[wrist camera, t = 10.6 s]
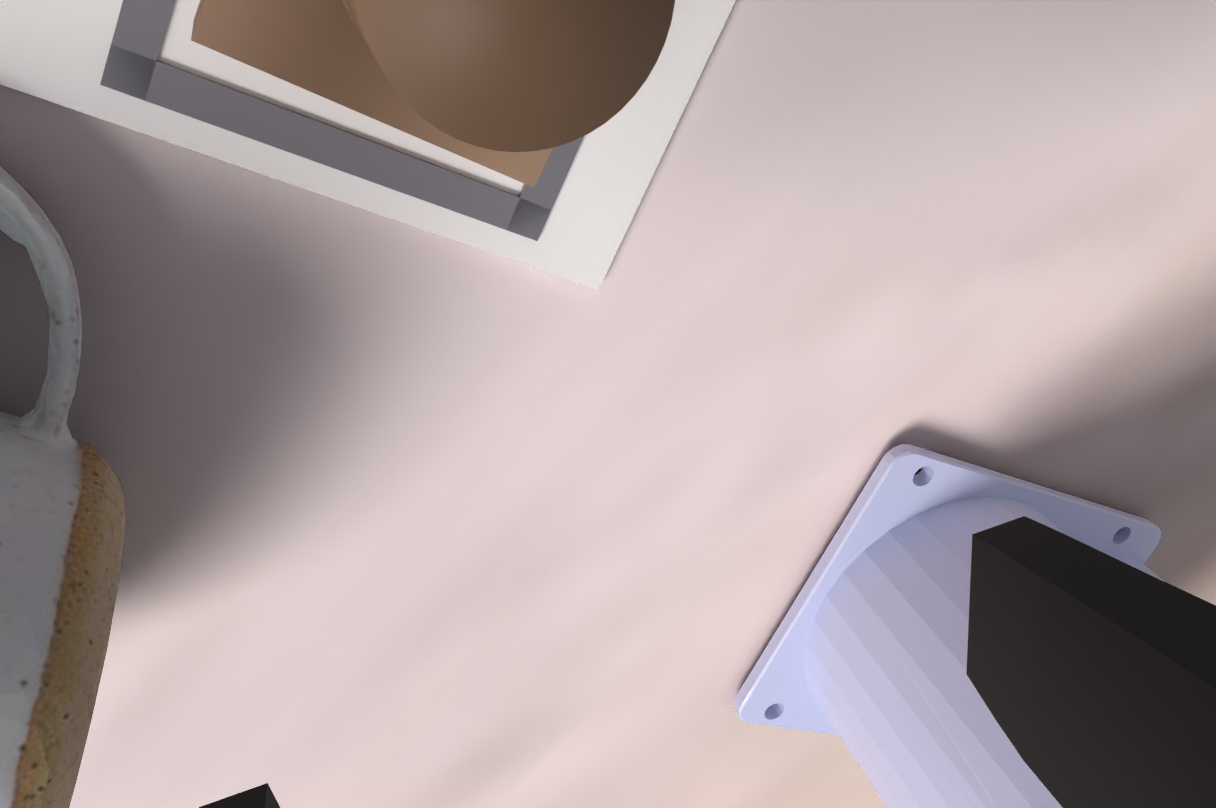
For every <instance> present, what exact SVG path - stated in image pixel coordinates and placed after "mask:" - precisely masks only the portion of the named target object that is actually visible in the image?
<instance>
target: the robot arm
mask: <svg viewBox="0 0 1216 808" xmlns="http://www.w3.org/2000/svg"><path fill="white" fill-rule="evenodd" d="M922 467H923V469H922V470H921V471H920V472H919V473H918V474H917V475H915V476H914V474H915V473H916V472H917V471H918V470H919V469H920V468H922ZM1160 539H1161V530H1160V528H1158V527H1157V526H1156V525H1155V524H1153V523H1152V522H1151V521H1149V520H1148V519H1145V518H1141V517H1138V516H1135V515H1132V514H1129V513H1126V512H1122V511H1119V510H1116V509H1113V508H1110V507H1107V506H1103V505H1100V504H1097V503H1094V502H1091V501H1088V500H1084V499H1081V498H1078V497H1075V496H1072V495H1069V494H1065V493H1062V492H1059V491H1056V490H1053V489H1050V488H1046V487H1043V486H1040V485H1037V484H1034V483H1031V482H1027V481H1024V480H1021V479H1018V478H1015V477H1012V476H1008V475H1005V474H1002V473H999V472H996V471H993V470H989V469H986V468H983V467H980V466H977V465H974V464H970V463H967V462H964V461H961V460H958V459H955V458H951V457H948V456H945V455H942V454H939V453H936V452H932V451H929V450H926V449H923V448H920V447H917V446H913V445H910V444H901V445H898V446H895V447H893V448H892V449H891V450H889V451H888V452H887V453H886V454H885V455H884V457H883V458H882V459H881V461H880V463H879V464H878V466H877V467H876V469H875V471H874V472H873V474H872V476H871V477H870V479H869V480H868V482H867V484H866V485H865V487H864V489H863V490H862V492H861V493H860V495H859V497H858V498H857V500H856V502H855V503H854V505H853V507H852V508H851V510H850V511H849V513H848V515H847V516H846V518H845V520H844V521H843V523H842V524H841V526H840V528H839V529H838V531H837V533H836V534H835V536H834V537H833V539H832V541H831V542H830V544H829V546H828V547H827V549H826V551H825V552H824V554H823V555H822V557H821V559H820V560H819V562H818V564H817V565H816V567H815V568H814V570H813V572H812V573H811V575H810V577H809V578H808V580H807V581H806V583H805V585H804V586H803V588H802V590H801V591H800V593H799V595H798V596H797V598H796V599H795V601H794V603H793V604H792V606H791V608H790V609H789V611H788V612H787V614H786V616H785V617H784V619H783V621H782V622H781V624H780V625H779V627H778V629H777V630H776V632H775V634H774V635H773V637H772V639H771V640H770V642H769V643H768V645H767V647H766V648H765V650H764V652H763V653H762V655H761V656H760V658H759V660H758V661H757V663H756V665H755V666H754V668H753V669H752V671H751V673H750V674H749V676H748V678H747V679H746V681H745V683H744V684H743V686H742V687H741V689H740V691H739V692H738V694H737V696H736V698H735V700H734V709H735V711H736V712H737V714H738V716H739V718H740V719H741V720H742V721H744V722H747V723H752V724H759V725H767V726H774V727H782V728H789V729H797V730H804V731H812V732H819V733H826V734H834V735H839V737H840V738H841V740H842V741H843V743H844V744H845V746H846V747H847V749H848V750H849V752H850V753H851V755H852V757H853V758H854V760H855V761H856V763H857V764H858V766H859V767H860V769H861V770H862V772H863V773H864V775H865V776H866V778H867V779H868V781H869V782H870V784H871V785H872V787H873V788H874V790H875V791H876V793H877V794H878V796H879V797H880V799H881V801H882V802H883V804H884V805H885V807H886V808H1216V606H1215V605H1213V604H1211V603H1209V602H1207V601H1204V600H1202V599H1200V598H1198V597H1196V596H1194V595H1192V594H1189V593H1187V592H1185V591H1183V590H1181V589H1179V588H1177V587H1174V586H1172V585H1170V584H1168V583H1166V582H1165V581H1164V580H1163V579H1162V578H1160V577H1159V576H1158V575H1157V574H1156V573H1154V572H1153V571H1152V570H1151V569H1149V568H1148V567H1147V566H1146V565H1145V564H1144V563H1145V562H1146V560H1147V559H1148V558H1149V556H1150V555H1151V554H1152V552H1153V551H1154V550H1155V548H1156V547H1157V545H1158V544H1159V542H1160ZM199 808H280V807H279V805H278V803H277V801H276V799H275V797H274V795H273V793H272V791H271V789H270V787H269V785H268V783H267V784H264V785H261V786H258V787H255V788H253V789H250V790H247V791H244V792H241V793H238V794H236V795H233V796H230V797H227V798H224V799H221V800H219V801H216V802H213V803H210V804H207V805H204V806H202V807H199Z"/></svg>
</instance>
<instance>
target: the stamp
mask: <svg viewBox="0 0 1216 808" xmlns="http://www.w3.org/2000/svg"><path fill="white" fill-rule="evenodd" d="M674 4H675V0H200V2H199V5H198V8H197V11H196V14H195V17H194V21H193V29H192V36H191V41H194V42H196V43H198V44H201V45H203V46H205V47H208V48H210V49H212V50H215V51H217V52H219V53H222V54H224V55H226V56H228V57H231V58H233V59H235V60H238V61H240V62H242V63H245V64H247V65H249V66H252V67H254V68H256V69H259V70H261V71H263V72H266V73H268V74H270V75H273V76H275V77H277V78H280V79H282V80H284V81H287V82H289V83H291V84H294V85H296V86H298V87H301V88H303V89H305V90H308V91H310V92H312V93H315V94H317V95H319V96H322V97H324V98H326V99H329V100H331V101H333V102H336V103H338V104H340V105H343V106H345V107H347V108H350V109H352V110H354V111H357V112H359V113H361V114H364V115H366V116H368V117H370V118H373V119H375V120H377V121H380V122H382V123H384V124H387V125H389V126H391V127H394V128H396V129H398V130H401V131H403V132H405V133H408V134H410V135H412V136H415V137H417V138H419V139H422V140H424V141H426V142H429V143H431V144H433V145H436V146H438V147H440V148H443V149H445V150H447V151H450V152H452V153H454V154H457V155H459V156H461V157H464V158H466V159H468V160H471V161H473V162H475V163H478V164H480V165H482V166H485V167H487V168H489V169H492V170H494V171H496V172H499V173H501V174H503V175H506V176H508V177H510V178H513V179H515V180H517V181H519V182H522V183H524V184H526V185H529V186H531V187H533V188H534V187H535V185H536V183H537V181H538V179H539V176H540V174H541V172H542V170H543V168H544V166H545V164H546V162H547V160H548V158H549V156H550V153H551V151H552V149H553V148H554V147H557V146H560V145H563V144H566V143H569V142H572V141H574V140H576V139H578V138H581V137H583V136H585V135H587V134H589V133H591V132H592V131H594V130H595V129H597V128H598V127H600V126H602V125H603V124H605V123H606V122H607V121H609V120H610V119H611V118H612V117H613V116H615V115H616V114H617V113H618V112H619V111H621V110H622V109H623V107H624V106H625V105H626V104H627V103H628V102H629V101H630V100H631V99H632V98H633V97H634V96H635V95H636V93H637V92H638V90H639V89H640V88H641V86H642V85H643V84H644V82H645V81H646V80H647V78H648V76H649V75H650V73H651V71H652V69H653V68H654V66H655V64H656V62H657V60H658V58H659V56H660V53H661V51H662V49H663V46H664V44H665V42H666V38H667V35H668V32H669V28H670V25H671V21H672V16H673V10H674Z"/></svg>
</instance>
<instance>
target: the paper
mask: <svg viewBox="0 0 1216 808" xmlns="http://www.w3.org/2000/svg"><path fill="white" fill-rule="evenodd" d="M735 1H736V0H675V4H674V10H673V16H672V21H671V25H670V28H669V32H668V35H667V38H666V42H665V44H664V46H663V49H662V51H661V53H660V56H659V58H658V60H657V62H656V64H655V66H654V68H653V69H652V71H651V73H650V75H649V76H648V78H647V80H646V81H645V82H644V84H643V85H642V86H641V88H640V89H639V90H638V92H637V93H636V95H635V96H634V97H633V98H632V99H631V100H630V101H629V102H628V103H627V104H626V105H625V106H624V107H623V109H622V110H621V111H619V112H618V113H617V114H616V115H615V116H613V117H612V118H611V119H610V120H609V121H607V122H606V123H605V124H603V125H602V126H600V127H598V128H597V129H595V130H594V131H592V132H591V133H589V134H587V135H585V136H583V137H581V138H578V139H576V140H574V141H572V142H569V143H566V144H563V145H560V146H557V147H554V148H553V149H552V151H551V153H550V156H549V158H548V160H547V162H546V164H545V166H544V168H543V170H542V172H541V174H540V176H539V179H538V181H537V183H536V185H535V187H534V188H533V187H531V186H529V185H526V184H524V183H522V182H519V181H517V180H515V179H513V178H510V177H508V176H506V175H503V174H501V173H499V172H496V171H494V170H492V169H489V168H487V167H485V166H482V165H480V164H478V163H475V162H473V161H471V160H468V159H466V158H464V157H461V156H459V155H457V154H454V153H452V152H450V151H447V150H445V149H443V148H440V147H438V146H436V145H433V144H431V143H429V142H426V141H424V140H422V139H419V138H417V137H415V136H412V135H410V134H408V133H405V132H403V131H401V130H398V129H396V128H394V127H391V126H389V125H387V124H384V123H382V122H380V121H377V120H375V119H373V118H370V117H368V116H366V115H364V114H361V113H359V112H357V111H354V110H352V109H350V108H347V107H345V106H343V105H340V104H338V103H336V102H333V101H331V100H329V99H326V98H324V97H322V96H319V95H317V94H315V93H312V92H310V91H308V90H305V89H303V88H301V87H298V86H296V85H294V84H291V83H289V82H287V81H284V80H282V79H280V78H277V77H275V76H273V75H270V74H268V73H266V72H263V71H261V70H259V69H256V68H254V67H252V66H249V65H247V64H245V63H242V62H240V61H238V60H235V59H233V58H231V57H228V56H226V55H224V54H222V53H219V52H217V51H215V50H212V49H210V48H208V47H205V46H203V45H201V44H198V43H196V42H194V41H191V36H192V29H193V21H194V17H195V14H196V11H197V8H198V5H199V2H200V0H0V85H3V86H6V87H9V88H12V89H15V90H18V91H21V92H24V93H26V94H29V95H32V96H35V97H38V98H41V99H44V100H47V101H50V102H53V103H56V104H58V105H61V106H64V107H67V108H70V109H73V110H76V111H79V112H82V113H85V114H87V115H90V116H93V117H96V118H99V119H102V120H105V121H108V122H111V123H114V124H117V125H119V126H122V127H125V128H128V129H131V130H134V131H137V132H140V133H143V134H146V135H149V136H151V137H154V138H157V139H160V140H163V141H166V142H169V143H172V144H175V145H178V146H180V147H183V148H186V149H189V150H192V151H195V152H198V153H201V154H204V155H207V156H210V157H212V158H215V159H218V160H221V161H224V162H227V163H230V164H233V165H236V166H239V167H242V168H244V169H247V170H250V171H253V172H256V173H259V174H262V175H265V176H268V177H271V178H273V179H276V180H279V181H282V182H285V183H288V184H291V185H294V186H297V187H300V188H303V189H305V190H308V191H311V192H314V193H317V194H320V195H323V196H326V197H329V198H332V199H335V200H337V201H340V202H343V203H346V204H349V205H352V206H355V207H358V208H361V209H364V210H367V211H369V212H372V213H375V214H378V215H381V216H384V217H387V218H390V219H393V220H396V221H398V222H401V223H404V224H407V225H410V226H413V227H416V228H419V229H422V230H425V231H428V232H430V233H433V234H436V235H439V236H442V237H445V238H448V239H451V240H454V241H457V242H460V243H462V244H465V245H468V246H471V247H474V248H477V249H480V250H483V251H486V252H489V253H491V254H494V255H497V256H500V257H503V258H506V259H509V260H512V261H515V262H518V263H521V264H523V265H526V266H529V267H532V268H535V269H538V270H541V271H544V272H547V273H550V274H553V275H555V276H558V277H561V278H564V279H567V280H570V281H573V282H576V283H579V284H582V285H584V286H587V287H590V288H593V289H596V290H599V288H600V286H601V284H602V282H603V280H604V278H605V275H606V273H607V271H608V269H609V267H610V265H611V263H612V261H613V259H614V256H615V254H616V252H617V250H618V248H619V246H620V244H621V242H622V240H623V237H624V235H625V233H626V231H627V229H628V227H629V225H630V223H631V221H632V218H633V216H634V214H635V212H636V210H637V208H638V206H639V204H640V202H641V199H642V197H643V195H644V193H645V191H646V189H647V187H648V185H649V183H650V181H651V178H652V176H653V174H654V172H655V170H656V168H657V166H658V164H659V162H660V159H661V157H662V155H663V153H664V151H665V149H666V147H667V145H668V143H669V140H670V138H671V136H672V134H673V132H674V130H675V128H676V126H677V124H678V121H679V119H680V117H681V115H682V113H683V111H684V109H685V107H686V105H687V102H688V100H689V98H690V96H691V94H692V92H693V90H694V88H695V86H696V83H697V81H698V79H699V77H700V75H701V73H702V71H703V69H704V67H705V64H706V62H707V60H708V58H709V56H710V54H711V52H712V50H713V48H714V45H715V43H716V41H717V39H718V37H719V35H720V33H721V31H722V29H723V26H724V24H725V22H726V20H727V18H728V16H729V14H730V12H731V10H732V7H733V5H734V3H735Z"/></svg>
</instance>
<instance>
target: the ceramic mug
mask: <svg viewBox="0 0 1216 808" xmlns="http://www.w3.org/2000/svg"><path fill="white" fill-rule="evenodd" d="M0 230H1V231H2V232H3V233H5V234H6V235H7V236H8V237H10V238H11V239H12V240H13V241H15V242H18V243H20V244H22V245H24V246H25V247H26V250H27V252H28V254H29V256H30V259H31V261H32V263H33V266H34V269H35V271H36V274H37V276H38V279H39V281H40V285H41V289H42V292H43V295H44V297H45V299H46V301H47V303H48V312H47V315H48V319H49V324H50V325H49V342H48V361H47V373H46V376H45V379H44V382H43V385H42V388H41V390H40V393H39V396H38V399H37V402H36V405H35V408H34V409H33V410H31V411H30V412H28V413H27V414H25V415H24V416H22V417H20V416H17V415H14V414H10V413H6V412H2V411H0V808H69V806H70V802H71V799H72V795H73V791H74V787H75V784H76V780H77V776H78V772H79V768H80V764H81V760H82V756H83V752H84V747H85V743H86V739H87V735H88V731H89V727H90V723H91V719H92V714H93V710H94V705H95V701H96V696H97V692H98V687H99V683H100V678H101V674H102V669H103V665H104V660H105V656H106V651H107V647H108V641H109V635H110V629H111V624H112V618H113V612H114V606H115V601H116V595H117V589H118V582H119V575H120V568H121V561H122V552H123V544H124V536H125V528H126V513H125V498H124V495H123V491H122V487H121V484H120V480H119V479H118V477H117V476H116V474H115V473H114V472H113V470H112V469H111V467H110V466H109V465H108V463H107V462H106V460H105V459H104V458H103V456H102V455H101V454H100V453H99V452H98V451H96V450H95V449H94V448H92V447H91V446H90V445H88V444H86V443H83V442H81V441H79V440H77V439H75V438H72V436H71V433H70V431H69V428H68V425H67V418H68V413H69V409H70V406H71V403H72V400H73V397H74V394H75V390H76V383H77V378H78V374H79V369H80V357H81V344H82V314H81V305H80V298H79V290H78V285H77V280H76V276H75V272H74V268H73V264H72V262H71V259H70V257H69V255H68V252H67V250H66V247H65V245H64V243H63V240H62V238H61V237H60V235H59V234H58V232H57V231H56V229H55V228H54V226H53V225H52V223H51V222H50V220H49V219H48V217H47V216H46V214H45V213H44V211H43V210H42V209H41V207H40V206H39V205H38V204H37V203H36V202H35V201H34V200H33V198H32V197H31V196H30V195H29V194H28V193H27V192H26V190H25V189H24V188H23V187H22V186H21V185H20V184H19V183H18V182H17V181H16V180H14V179H13V178H12V177H11V176H10V175H9V174H8V173H7V172H6V171H5V170H4V169H3V168H2V167H1V166H0Z"/></svg>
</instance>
